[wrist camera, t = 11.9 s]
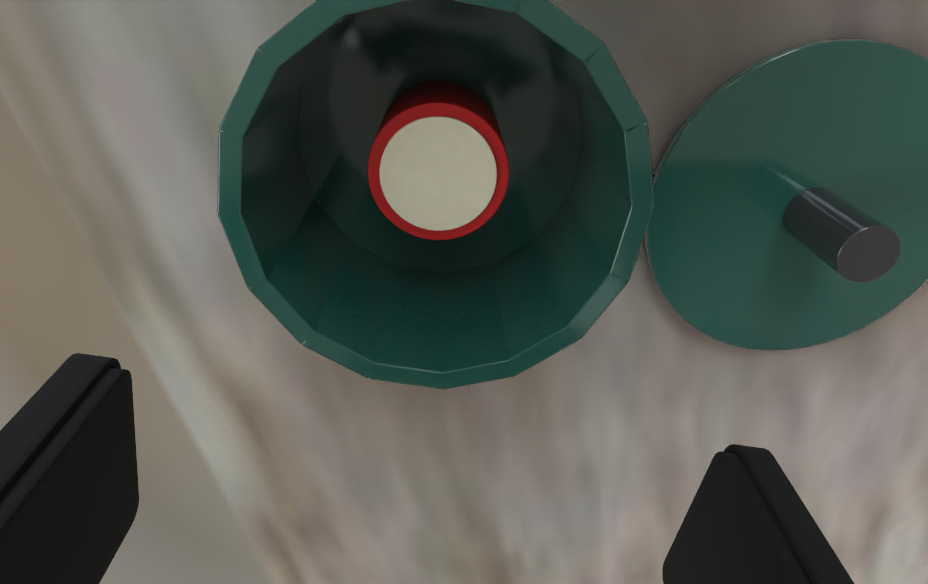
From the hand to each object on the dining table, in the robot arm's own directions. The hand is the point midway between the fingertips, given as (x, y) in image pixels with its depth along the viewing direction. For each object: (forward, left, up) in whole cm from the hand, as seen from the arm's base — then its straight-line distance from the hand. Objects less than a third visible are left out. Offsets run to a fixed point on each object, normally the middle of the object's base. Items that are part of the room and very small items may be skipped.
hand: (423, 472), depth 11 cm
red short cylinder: (0, 0, -22) cm, 22 cm away
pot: (0, 0, -23) cm, 23 cm away
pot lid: (0, +18, -22) cm, 28 cm away
